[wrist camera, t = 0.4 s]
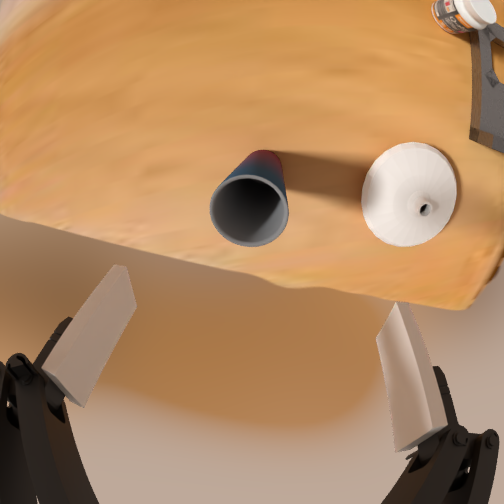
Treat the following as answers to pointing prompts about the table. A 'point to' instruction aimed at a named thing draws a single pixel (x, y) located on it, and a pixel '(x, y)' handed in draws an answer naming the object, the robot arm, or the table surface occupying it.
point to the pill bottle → (463, 15)
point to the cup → (251, 201)
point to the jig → (486, 89)
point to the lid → (409, 194)
